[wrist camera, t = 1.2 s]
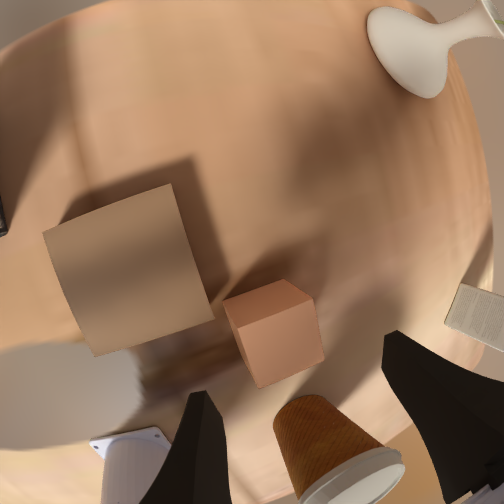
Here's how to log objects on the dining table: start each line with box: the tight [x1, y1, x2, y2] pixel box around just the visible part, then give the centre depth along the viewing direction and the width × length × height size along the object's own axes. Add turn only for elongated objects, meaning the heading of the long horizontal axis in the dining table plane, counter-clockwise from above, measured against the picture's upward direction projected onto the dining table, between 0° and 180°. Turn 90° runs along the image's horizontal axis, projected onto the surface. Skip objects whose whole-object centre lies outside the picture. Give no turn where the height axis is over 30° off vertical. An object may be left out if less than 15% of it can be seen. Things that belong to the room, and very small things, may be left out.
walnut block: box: [42, 183, 215, 357], centre depth 18 cm, size 9×9×3 cm
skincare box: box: [444, 283, 504, 352], centre depth 25 cm, size 6×4×12 cm
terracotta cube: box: [222, 279, 325, 389], centre depth 20 cm, size 5×5×5 cm
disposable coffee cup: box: [273, 395, 405, 504], centre depth 20 cm, size 10×10×12 cm
